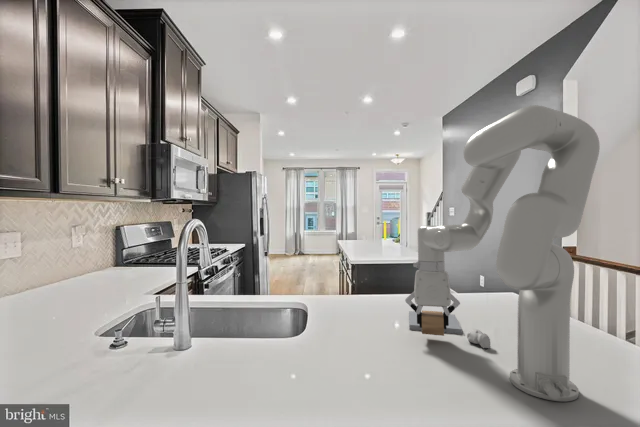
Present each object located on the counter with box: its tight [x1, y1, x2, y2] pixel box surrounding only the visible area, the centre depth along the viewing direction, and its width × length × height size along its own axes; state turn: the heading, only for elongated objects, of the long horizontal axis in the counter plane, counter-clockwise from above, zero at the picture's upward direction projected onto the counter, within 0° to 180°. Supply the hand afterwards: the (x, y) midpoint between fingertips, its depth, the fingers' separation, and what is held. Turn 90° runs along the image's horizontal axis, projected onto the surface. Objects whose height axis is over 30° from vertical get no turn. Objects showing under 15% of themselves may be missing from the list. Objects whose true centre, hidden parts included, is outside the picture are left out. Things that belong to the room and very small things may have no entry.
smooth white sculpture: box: [466, 329, 491, 349], centre depth 97 cm, size 4×8×5 cm
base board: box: [408, 310, 463, 335], centre depth 115 cm, size 16×16×2 cm
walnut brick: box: [421, 309, 445, 336], centre depth 99 cm, size 7×6×5 cm
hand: (432, 326), depth 99 cm, fingers closed on walnut brick, 6 cm apart
